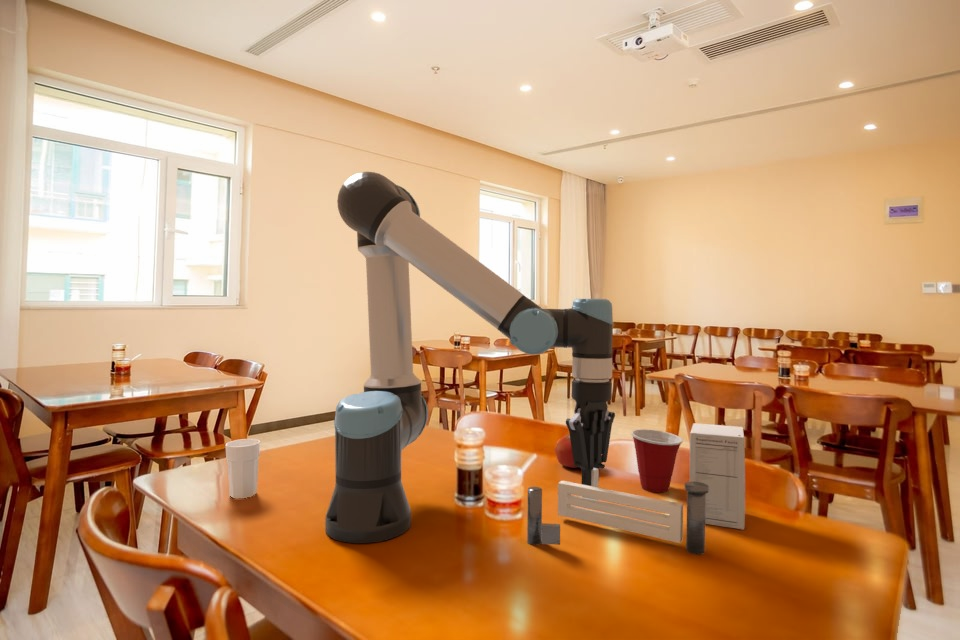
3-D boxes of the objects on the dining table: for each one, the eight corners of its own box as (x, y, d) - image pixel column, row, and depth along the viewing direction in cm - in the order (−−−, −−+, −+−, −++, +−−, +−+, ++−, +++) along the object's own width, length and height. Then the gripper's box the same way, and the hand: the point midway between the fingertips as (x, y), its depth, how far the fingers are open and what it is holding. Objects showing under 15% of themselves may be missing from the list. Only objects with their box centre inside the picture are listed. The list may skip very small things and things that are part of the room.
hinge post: (687, 555, 86) (688, 488, 86) (681, 545, 90) (682, 481, 89) (710, 556, 86) (711, 489, 85) (703, 546, 89) (704, 481, 89)
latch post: (526, 549, 88) (527, 494, 88) (527, 538, 92) (527, 486, 92) (560, 550, 87) (560, 496, 87) (559, 540, 91) (559, 487, 91)
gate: (557, 514, 100) (558, 483, 100) (561, 511, 101) (562, 480, 101) (680, 543, 88) (680, 507, 88) (682, 539, 90) (683, 503, 89)
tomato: (554, 460, 138) (555, 429, 138) (591, 462, 137) (591, 431, 137) (554, 471, 129) (555, 438, 129) (593, 473, 128) (594, 440, 128)
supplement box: (744, 513, 104) (745, 426, 103) (745, 531, 95) (747, 437, 95) (691, 505, 108) (692, 421, 107) (687, 521, 99) (689, 431, 99)
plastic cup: (677, 500, 110) (678, 442, 110) (625, 491, 115) (625, 436, 115) (686, 485, 119) (686, 432, 119) (636, 477, 125) (637, 426, 124)
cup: (218, 498, 110) (218, 444, 110) (243, 487, 117) (243, 437, 116) (242, 502, 108) (242, 448, 108) (267, 492, 114) (267, 440, 114)
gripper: (595, 374, 110) (593, 488, 110) (554, 380, 101) (553, 504, 101) (627, 378, 104) (625, 498, 105) (587, 384, 95) (585, 516, 96)
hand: (590, 501), depth 103 cm, fingers closed
